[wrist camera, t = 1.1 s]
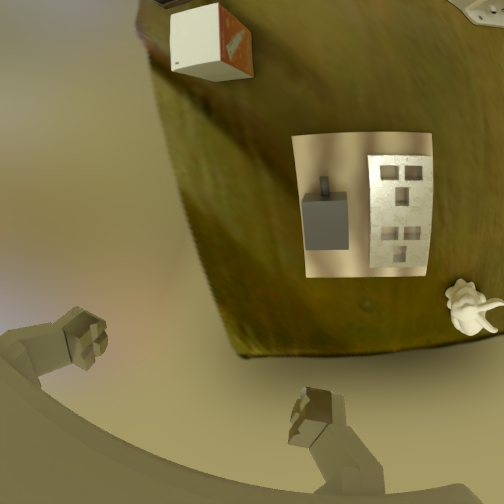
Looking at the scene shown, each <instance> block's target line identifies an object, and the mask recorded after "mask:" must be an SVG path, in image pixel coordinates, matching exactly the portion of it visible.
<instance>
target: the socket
mask: <svg viewBox="0 0 504 504" xmlns="http://www.w3.org/2000/svg"><path fill="white" fill-rule="evenodd" d="M366 160H367V176H368V199H369V255H368V261H369V267H370V268H391V267H426V264H427V257H428V248H429V239H430V227H431V212H432V156H430V155H427V154H389V153H383V154H366ZM380 165H395V176H396V177H380ZM404 165H408V166H417V169H418V177H405V168H404ZM395 187H405V201H395ZM409 226H416V233H404V227H409ZM381 227H395V233H389V234H381ZM394 246H403V253H402V255H393V253H394Z"/></svg>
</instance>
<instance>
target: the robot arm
mask: <svg viewBox="0 0 504 504" xmlns="http://www.w3.org/2000/svg"><path fill="white" fill-rule="evenodd" d="M448 1H449V2H451V3H452V4H454V5H455V6H456V7H458V8H459V9H460V10H461V11H462V12H463V13H464V15H465V16H466V17H467V18H468V19H469V20H470V21H471V22H472V23H473V24H475V25H481V26H492V27H500V28H504V0H448ZM479 17H480V19H481V20H480V19H479ZM106 328H107V326H106V321H105V320H103V319H102V318H99V317H97V316H96V315H94V314H92V313H90V312H88V311H86V310H84V309H82V308H80V307H78V306H77V307H74V308H72V309H71V310H70V311H69V312H67V313H66V314H65V315H63V316H62V317H61V318H60V319H58V320H57V321H56V322H54V323H53V324H52V323H51V322H50V323H45V324H40V325H34V326H29V327H24V328H19V329H13V330H8V331H6V332H5V333H4V334H3V335H1V336H0V504H482V502H481V500H480V499H479V498H478V497H477V496H476V495H475V494H474V493H473V492H472V491H471V490H470V489H469V488H468V487H466V486H465V485H464V484H460V483H457V484H451V485H447V486H442V487H437V488H432V489H426V490H419V491H412V492H404V493H394V494H385V486H384V475H383V467H382V466H381V464H380V463H379V462H378V461H377V459H376V458H375V457H374V456H373V455H372V453H371V452H370V451H369V450H368V448H367V447H366V446H365V445H364V443H363V442H362V441H361V440H360V438H359V437H358V436H357V435H356V433H355V432H354V431H353V430H352V428H351V427H349V426H346V414H345V403H344V395H343V393H338V392H331V391H326V390H321V389H315V388H310V387H304V388H303V390H302V391H301V396H300V399H298V400H297V401H296V403H295V405H294V407H293V410H292V414H291V420H290V422H291V423H292V427H291V429H290V430H289V439H288V444H289V445H294V446H299V447H305V448H309V451H310V452H311V454H312V456H313V458H314V460H315V462H316V464H317V466H318V468H319V470H320V472H321V473H322V475H323V477H324V479H325V481H326V483H325V484H324V485H323V486H321V487H320V488H319V489H318V490H316V491H315V492H314V494H310V493H300V492H292V491H285V490H278V489H271V488H266V487H260V486H255V485H250V484H245V483H241V482H237V481H233V480H228V479H225V478H221V477H217V476H214V475H211V474H207V473H204V472H200V471H197V470H195V469H191V468H189V467H186V466H183V465H180V464H177V463H175V462H172V461H169V460H167V459H164V458H161V457H159V456H157V455H154V454H152V453H150V452H147V451H145V450H143V449H140V448H138V447H136V446H134V445H132V444H130V443H128V442H126V441H124V440H122V439H120V438H118V437H116V436H114V435H112V434H110V433H108V432H107V431H105V430H103V429H101V428H99V427H97V426H96V425H94V424H92V423H91V422H89V421H87V420H86V419H84V418H82V417H81V416H79V415H78V414H76V413H74V412H73V411H71V410H70V409H68V408H67V407H65V406H64V405H62V404H61V403H59V402H58V401H56V400H55V399H54V398H52V397H51V396H50V395H48V394H47V393H45V392H44V391H43V390H42V389H41V384H40V381H39V379H38V376H41V375H44V374H46V373H49V372H52V371H54V370H57V369H59V368H62V367H65V366H67V365H70V364H72V363H73V364H75V365H76V366H78V367H80V368H82V369H84V370H86V371H87V370H88V369H89V368H90V367H91V366H92V365H93V364H94V363H95V357H98V356H101V355H102V354H103V353H104V352H105V350H106V347H107V344H108V336H107V334H106V332H105V331H104V330H105V329H106Z"/></svg>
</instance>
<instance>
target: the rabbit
mask: <svg viewBox="0 0 504 504" xmlns="http://www.w3.org/2000/svg"><path fill="white" fill-rule="evenodd" d="M445 295H446V297H448V298H449V300H448V301H447V306H448V308H449V309H451V320H452V323H453V324H454V326H455V328H457V329H458V330H460V331H461V332H462V333H465V334H466V335H469V336H472V335H474V334H476V333H478V332H479V331H480V330H481V329H482V328H485V329H486V330H488V331H490V332H492V333H496V332H497V331H498V329H497V328H494V327H493V326H492V325H491V324H490V323H489V322H488V321H487V320H486V319H485V313H486V310H489V309H492V308H494V307H497V306H501V305H504V301H503V300H502V299H500V298H492V299H490V300H488V301H486V298H485V296H484V295H483V294H482V293H480V292H477V291H476V289H475V285H474V283H473V282H469V283H466V282H465V281H464V280H463V279H458V280H457V281H456V283H455V285H454V286H453V287H450V288H448V289H447V290H446V292H445Z"/></svg>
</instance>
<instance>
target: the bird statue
mask: <svg viewBox="0 0 504 504" xmlns="http://www.w3.org/2000/svg"><path fill="white" fill-rule="evenodd" d="M150 1H152V2H154V3H156V4H158V5H159V6H161V7H163V8H165V9H169V8H172V7H175V6H178V5H181V4H184V3H188V2H190V1H191V0H150Z"/></svg>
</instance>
